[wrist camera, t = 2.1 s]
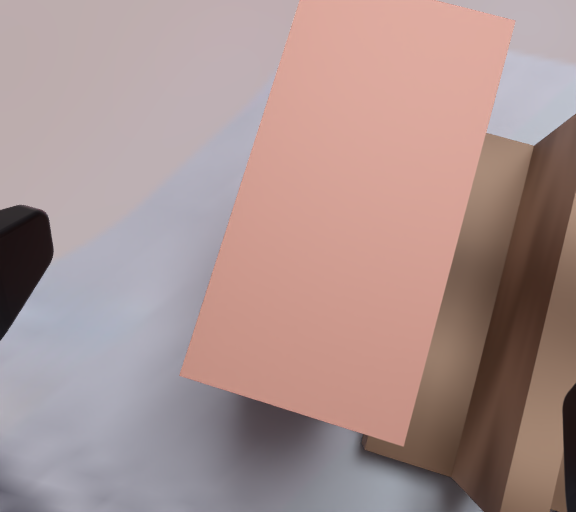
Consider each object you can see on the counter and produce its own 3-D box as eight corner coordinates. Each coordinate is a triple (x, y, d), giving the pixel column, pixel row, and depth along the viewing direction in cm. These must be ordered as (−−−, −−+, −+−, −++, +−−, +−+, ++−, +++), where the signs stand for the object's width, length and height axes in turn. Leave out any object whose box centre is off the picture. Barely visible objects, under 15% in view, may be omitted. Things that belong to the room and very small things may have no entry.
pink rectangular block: (349, 379, 18) (403, 446, 8) (245, 347, 19) (179, 375, 9) (406, 175, 19) (515, 20, 9) (306, 147, 20) (310, -32, 10)
